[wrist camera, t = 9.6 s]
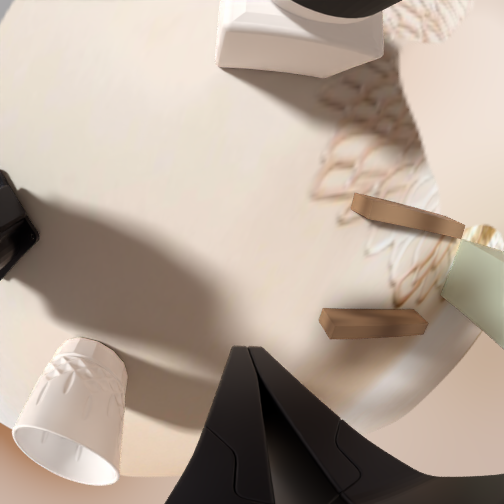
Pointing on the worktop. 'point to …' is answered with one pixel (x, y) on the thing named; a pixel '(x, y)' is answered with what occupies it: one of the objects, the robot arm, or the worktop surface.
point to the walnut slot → (386, 320)
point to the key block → (478, 287)
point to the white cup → (77, 414)
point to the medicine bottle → (300, 35)
